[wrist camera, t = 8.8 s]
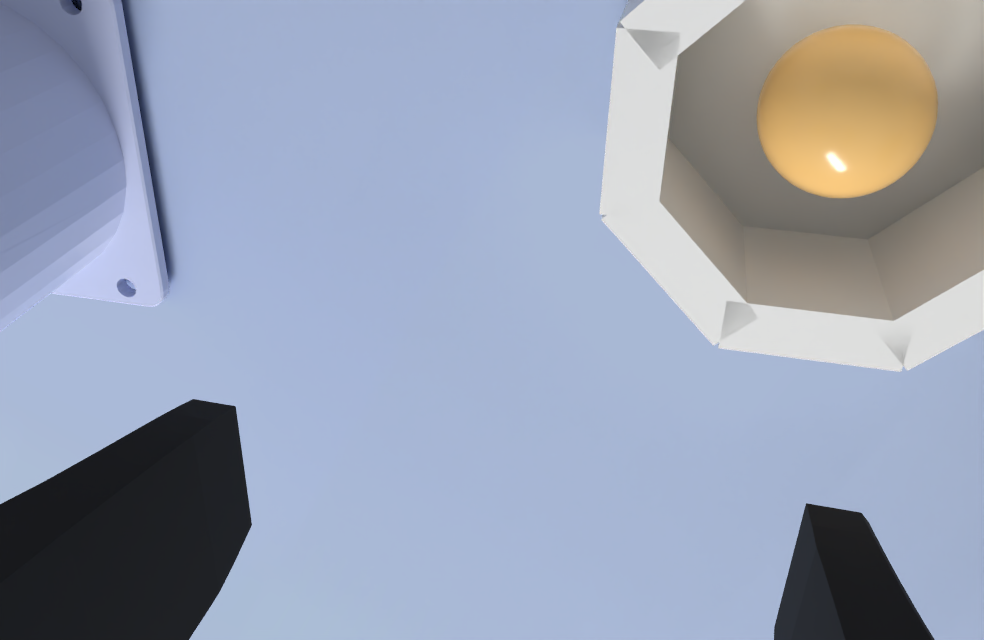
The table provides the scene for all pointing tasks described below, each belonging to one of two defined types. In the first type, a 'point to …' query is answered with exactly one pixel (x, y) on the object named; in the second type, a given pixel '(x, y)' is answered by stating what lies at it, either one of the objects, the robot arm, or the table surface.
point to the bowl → (805, 171)
